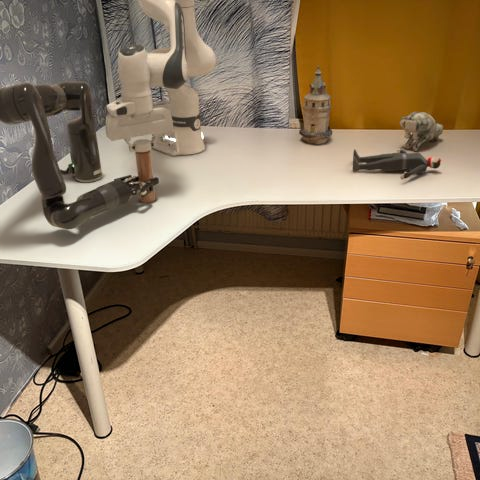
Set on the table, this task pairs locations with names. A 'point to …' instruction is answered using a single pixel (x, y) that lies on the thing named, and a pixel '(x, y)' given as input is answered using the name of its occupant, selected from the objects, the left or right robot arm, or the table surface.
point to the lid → (142, 145)
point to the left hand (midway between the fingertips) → (152, 178)
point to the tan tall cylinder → (145, 172)
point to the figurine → (420, 129)
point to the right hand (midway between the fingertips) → (142, 149)
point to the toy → (396, 162)
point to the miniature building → (316, 112)
